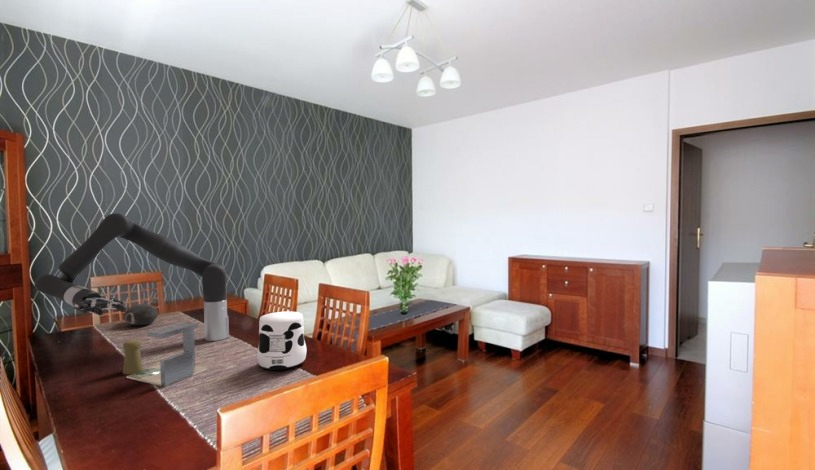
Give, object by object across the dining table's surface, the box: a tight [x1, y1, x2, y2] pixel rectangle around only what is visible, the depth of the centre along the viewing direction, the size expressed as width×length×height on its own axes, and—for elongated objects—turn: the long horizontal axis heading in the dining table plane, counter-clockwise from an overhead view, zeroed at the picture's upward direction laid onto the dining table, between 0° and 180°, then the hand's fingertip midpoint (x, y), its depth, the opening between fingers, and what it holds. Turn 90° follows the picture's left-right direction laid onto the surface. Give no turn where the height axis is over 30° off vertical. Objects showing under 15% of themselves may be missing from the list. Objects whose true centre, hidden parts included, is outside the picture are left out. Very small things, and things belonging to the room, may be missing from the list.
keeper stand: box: [126, 321, 207, 388], centre depth 138 cm, size 19×16×16 cm
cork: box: [122, 339, 144, 375], centre depth 141 cm, size 6×6×11 cm
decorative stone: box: [123, 303, 159, 327], centre depth 203 cm, size 19×14×10 cm
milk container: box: [256, 311, 308, 371], centre depth 146 cm, size 17×17×18 cm
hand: (114, 311), depth 145 cm, fingers open, 8 cm apart
